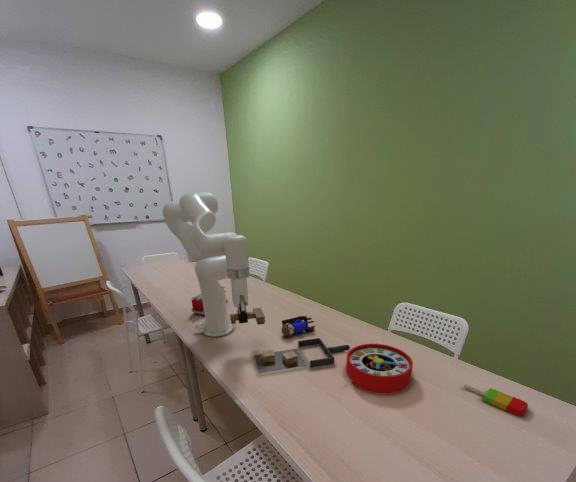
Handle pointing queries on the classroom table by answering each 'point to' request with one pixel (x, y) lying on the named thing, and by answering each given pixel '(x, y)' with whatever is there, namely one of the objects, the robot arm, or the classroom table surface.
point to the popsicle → (503, 401)
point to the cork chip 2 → (289, 357)
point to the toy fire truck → (199, 304)
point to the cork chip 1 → (268, 356)
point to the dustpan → (326, 350)
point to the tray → (277, 362)
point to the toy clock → (379, 368)
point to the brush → (250, 316)
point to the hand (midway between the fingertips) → (243, 320)
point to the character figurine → (296, 325)
